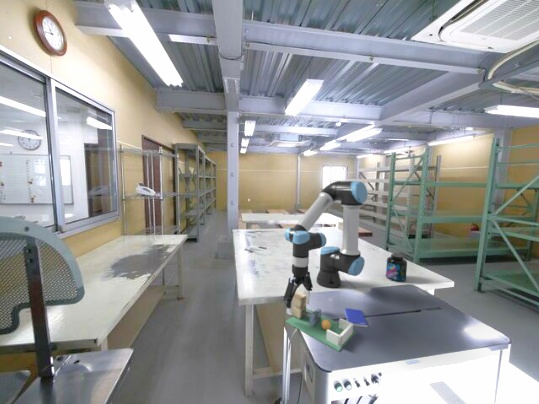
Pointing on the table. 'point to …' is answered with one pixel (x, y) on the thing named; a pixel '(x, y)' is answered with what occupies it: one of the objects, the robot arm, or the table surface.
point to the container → (396, 268)
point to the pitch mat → (317, 329)
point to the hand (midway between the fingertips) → (298, 308)
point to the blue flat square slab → (355, 317)
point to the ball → (325, 324)
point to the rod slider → (304, 309)
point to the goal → (344, 335)
